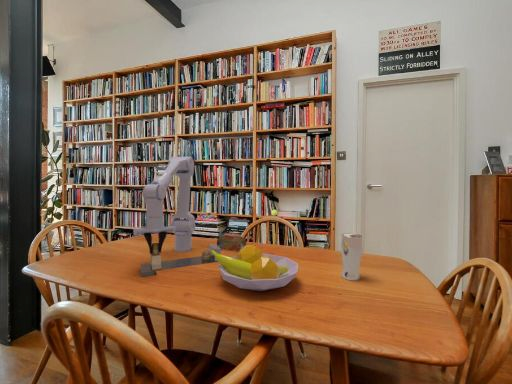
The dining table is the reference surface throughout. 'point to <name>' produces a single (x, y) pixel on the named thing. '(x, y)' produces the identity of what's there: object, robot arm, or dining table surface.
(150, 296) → the dining table surface
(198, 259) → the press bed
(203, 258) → the walnut
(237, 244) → the tin
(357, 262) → the beer glass
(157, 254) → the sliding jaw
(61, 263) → the dining table surface
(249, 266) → the fruit bowl
